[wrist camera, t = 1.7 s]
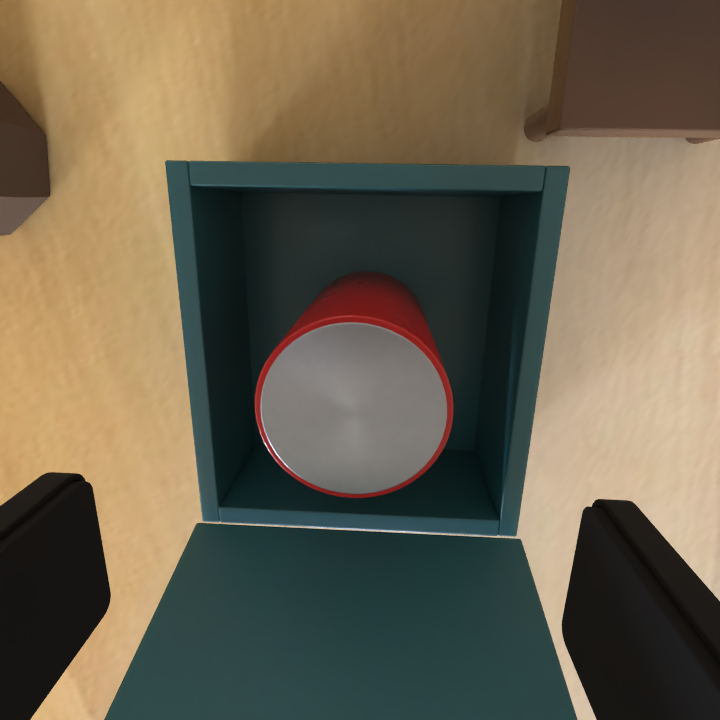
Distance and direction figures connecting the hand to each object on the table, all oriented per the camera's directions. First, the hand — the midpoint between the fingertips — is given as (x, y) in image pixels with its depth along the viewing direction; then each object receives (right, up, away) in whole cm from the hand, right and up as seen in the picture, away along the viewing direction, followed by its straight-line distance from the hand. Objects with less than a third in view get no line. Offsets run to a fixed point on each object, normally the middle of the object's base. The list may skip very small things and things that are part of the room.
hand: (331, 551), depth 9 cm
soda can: (+1, +5, +15) cm, 15 cm away
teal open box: (+1, +5, +15) cm, 16 cm away
